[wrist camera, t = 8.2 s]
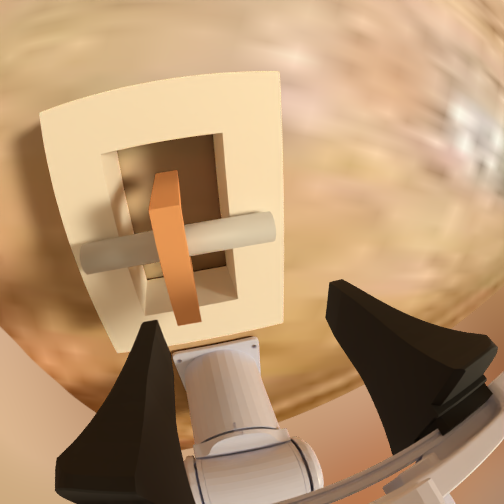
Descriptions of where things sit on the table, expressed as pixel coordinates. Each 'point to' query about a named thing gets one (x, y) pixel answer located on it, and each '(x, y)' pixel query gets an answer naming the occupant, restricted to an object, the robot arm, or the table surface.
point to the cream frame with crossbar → (197, 234)
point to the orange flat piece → (173, 247)
